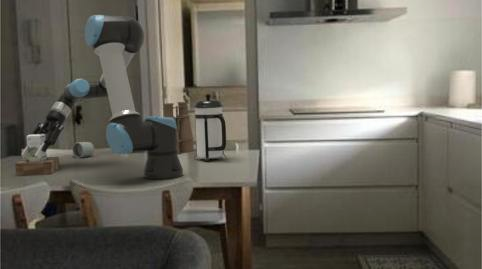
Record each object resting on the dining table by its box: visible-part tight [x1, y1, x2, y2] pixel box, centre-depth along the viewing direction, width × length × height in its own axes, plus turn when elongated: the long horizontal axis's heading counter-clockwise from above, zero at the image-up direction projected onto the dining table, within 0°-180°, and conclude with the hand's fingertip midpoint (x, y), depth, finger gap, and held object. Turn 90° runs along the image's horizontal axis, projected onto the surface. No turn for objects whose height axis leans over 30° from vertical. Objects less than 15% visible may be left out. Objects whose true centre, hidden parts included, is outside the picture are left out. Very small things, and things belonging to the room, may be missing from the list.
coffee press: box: [193, 93, 227, 163], centre depth 243 cm, size 17×16×30 cm
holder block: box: [14, 156, 60, 177], centre depth 227 cm, size 14×14×5 cm
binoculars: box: [162, 101, 195, 155], centre depth 270 cm, size 21×10×25 cm, turn 145°
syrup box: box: [26, 133, 48, 162], centre depth 226 cm, size 6×6×14 cm
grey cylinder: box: [72, 141, 95, 159], centre depth 267 cm, size 11×8×8 cm
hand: (30, 156), depth 224 cm, fingers closed on syrup box, 7 cm apart
